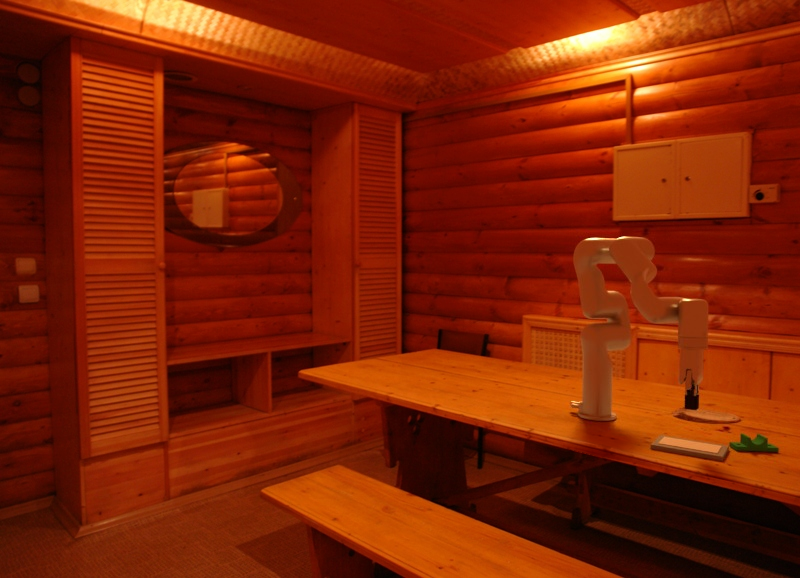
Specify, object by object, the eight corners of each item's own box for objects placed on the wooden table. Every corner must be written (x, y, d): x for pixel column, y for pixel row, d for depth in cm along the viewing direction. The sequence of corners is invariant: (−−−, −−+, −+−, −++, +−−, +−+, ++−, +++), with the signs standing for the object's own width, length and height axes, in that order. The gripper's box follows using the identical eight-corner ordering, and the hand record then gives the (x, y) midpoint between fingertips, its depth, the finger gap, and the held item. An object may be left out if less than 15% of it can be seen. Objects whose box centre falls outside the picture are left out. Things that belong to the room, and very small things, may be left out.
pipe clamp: (770, 434, 172) (779, 438, 167) (770, 447, 172) (778, 452, 167) (729, 432, 173) (737, 437, 168) (729, 445, 173) (736, 450, 168)
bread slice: (747, 424, 198) (747, 413, 198) (711, 431, 190) (712, 419, 190) (698, 412, 214) (698, 402, 214) (663, 418, 206) (663, 407, 206)
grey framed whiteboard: (650, 448, 170) (650, 443, 170) (660, 438, 180) (660, 434, 180) (722, 461, 160) (722, 455, 159) (728, 450, 169) (728, 445, 169)
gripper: (683, 339, 177) (682, 402, 177) (672, 344, 164) (671, 412, 165) (712, 341, 172) (711, 405, 173) (702, 346, 160) (701, 416, 160)
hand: (691, 408), depth 169 cm, fingers closed
